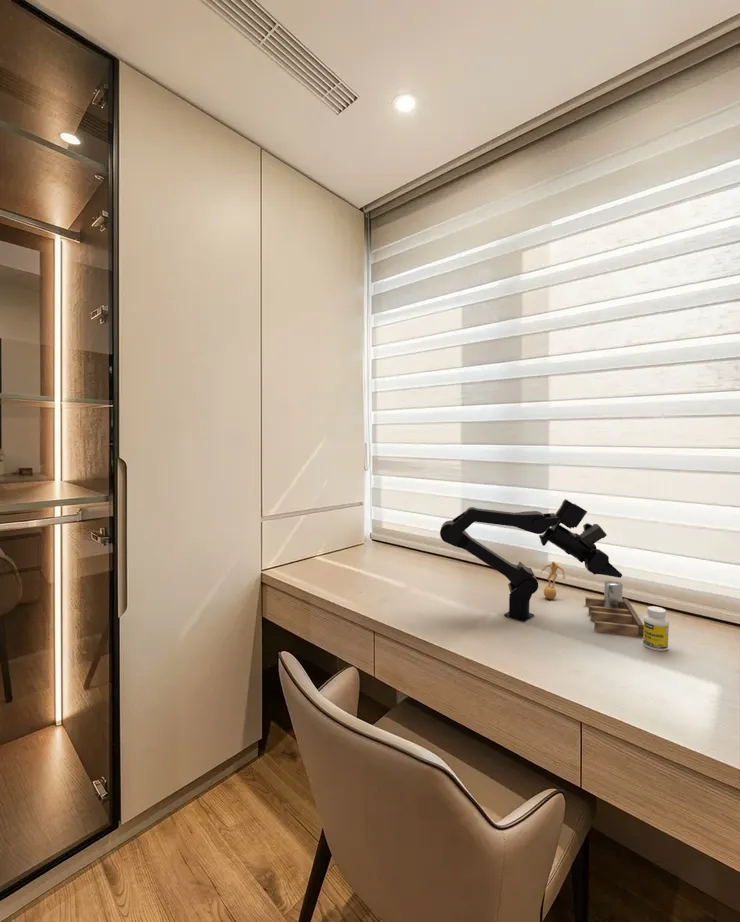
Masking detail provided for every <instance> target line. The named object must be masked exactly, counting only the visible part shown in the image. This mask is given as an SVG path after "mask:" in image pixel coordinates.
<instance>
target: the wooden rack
mask: <svg viewBox="0 0 740 922" xmlns="http://www.w3.org/2000/svg"><path fill="white" fill-rule="evenodd" d="M585 607H588V615H589V616H590V621H592V622H593V621H594V632H597V633H598V632H600V633H607V634H615V635H622V636H631V637H632V636H633V637H640V638H641V637H642V638H643V631H644V622H643V621H642V620H641V618H640V616H638V614H637V612H636V610H635V609H634V608H633V605H632V604H631V603H630V601H629V600H628V598H623V597H622V609H618V608H608V607H604V598H599V597H589V596H586V597H585Z"/></svg>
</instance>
